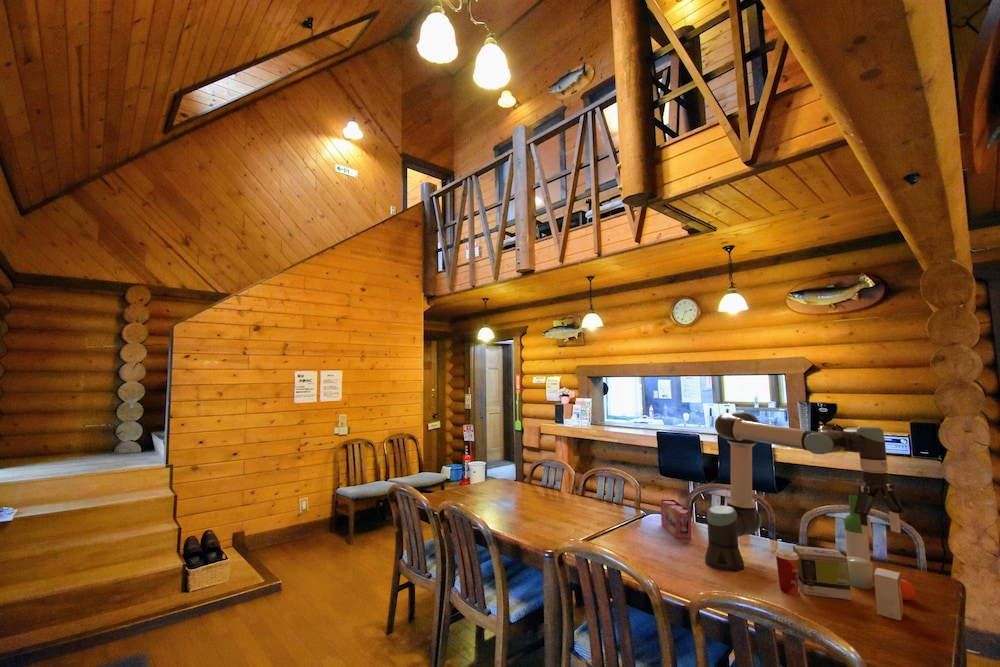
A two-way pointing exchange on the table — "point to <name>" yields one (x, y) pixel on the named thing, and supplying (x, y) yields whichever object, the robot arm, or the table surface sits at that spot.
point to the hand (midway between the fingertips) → (881, 533)
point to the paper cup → (787, 571)
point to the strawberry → (907, 590)
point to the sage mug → (860, 572)
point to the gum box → (676, 518)
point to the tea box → (823, 572)
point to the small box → (888, 593)
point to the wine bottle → (855, 533)
